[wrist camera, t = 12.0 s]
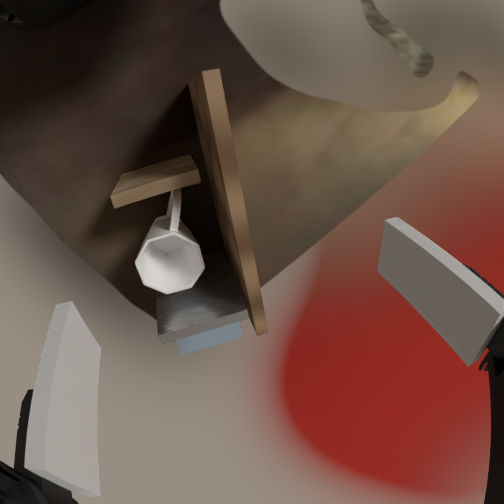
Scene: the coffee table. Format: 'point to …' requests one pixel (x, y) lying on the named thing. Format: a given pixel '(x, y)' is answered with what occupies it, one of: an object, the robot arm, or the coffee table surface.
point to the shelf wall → (227, 189)
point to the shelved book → (209, 338)
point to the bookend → (201, 303)
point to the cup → (170, 252)
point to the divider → (155, 180)
